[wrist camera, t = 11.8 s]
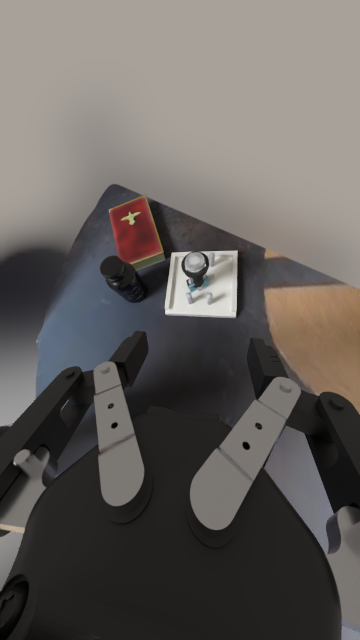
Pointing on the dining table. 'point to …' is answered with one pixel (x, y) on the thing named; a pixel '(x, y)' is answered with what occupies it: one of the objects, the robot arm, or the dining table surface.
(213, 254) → the tray
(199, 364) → the dining table surface
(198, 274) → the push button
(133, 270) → the supplement bottle
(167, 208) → the dining table surface
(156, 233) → the hardcover book
